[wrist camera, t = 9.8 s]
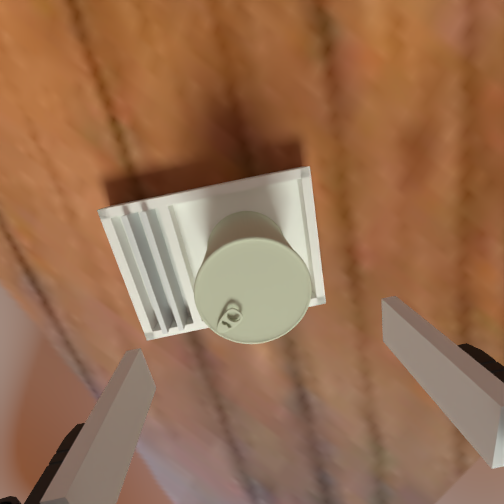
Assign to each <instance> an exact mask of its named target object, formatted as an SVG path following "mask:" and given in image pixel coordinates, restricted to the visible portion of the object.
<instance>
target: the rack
mask: <svg viewBox="0 0 504 504" xmlns="http://www.w3.org/2000/svg"><path fill="white" fill-rule="evenodd" d="M97 211H98V214H99V217H100V219H101V222H102V224H103V227H104V230H105V232H106V235H107V237H108V240H109V243H110V245H111V248H112V250H113V253H114V256H115V258H116V261H117V263H118V266H119V269H120V271H121V274H122V276H123V279H124V282H125V284H126V287H127V289H128V292H129V295H130V297H131V300H132V302H133V305H134V308H135V310H136V313H137V315H138V318H139V321H140V323H141V326H142V329H143V331H144V334H145V336H146V339H147V340H152V339H156V338H161V337H166V336H171V335H176V334H180V333H185V332H190V331H195V330H200V329H204V328H209V327H208V326H207V325H206V324H205V322H204V321H203V320H202V318H201V317H200V315H199V313H198V310H197V308H196V304H195V300H194V283H195V279H196V275H197V273H198V270H199V268H200V267H201V265H202V262H203V260H204V257H205V254H206V251H207V244H208V239H209V236H210V234H211V232H212V230H213V229H214V227H215V226H216V225H217V224H218V222H220V221H221V220H222V219H223V218H225V217H226V216H228V215H230V214H233V213H236V212H241V211H253V212H258V213H261V214H264V215H266V216H267V217H269V218H270V219H272V220H273V221H274V222H275V223H276V224H277V225H278V226H279V228H280V229H281V231H282V233H283V236H284V238H285V239H286V240H287V242H288V243H289V244H290V246H291V247H292V248H293V250H294V251H296V252H297V253H298V254H299V256H300V257H301V258H302V259H303V261H304V262H305V264H306V266H307V268H308V270H309V273H310V277H311V282H312V294H311V300H310V304H309V306H308V307H310V306H315V305H320V304H325V303H326V300H325V291H324V283H323V274H322V266H321V257H320V249H319V240H318V232H317V223H316V215H315V207H314V198H313V190H312V181H311V173H310V166H302V167H297V168H292V169H288V170H283V171H278V172H273V173H268V174H263V175H258V176H253V177H249V178H244V179H239V180H234V181H229V182H224V183H219V184H215V185H210V186H205V187H200V188H195V189H190V190H185V191H180V192H176V193H171V194H166V195H161V196H156V197H151V198H146V199H142V200H137V201H132V202H127V203H122V204H117V205H112V206H108V207H105V208H102V209H99V210H97Z"/></svg>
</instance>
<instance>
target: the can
mask: <svg viewBox="0 0 504 504" xmlns="http://www.w3.org/2000/svg"><path fill="white" fill-rule="evenodd" d="M311 294H312V282H311V277H310V273H309V270H308V268H307V266H306V264H305V262H304V261H303V259H302V258H301V257H300V256H299V254H298V253H297V252H296V251H294V250H293V248H292V247H291V246H290V244H289V243H288V242H287V240H286V239H285V238H284V236H283V233H282V231H281V229H280V228H279V226H278V225H277V224H276V223H275V222H274V221H273V220H272V219H270V218H269V217H267V216H266V215H264V214H261V213H258V212H253V211H241V212H236V213H233V214H230V215H228V216H226V217H225V218H223V219H222V220H221V221H220V222H218V224H217V225H216V226H215V227H214V229H213V230H212V232H211V234H210V236H209V239H208V244H207V251H206V254H205V257H204V260H203V262H202V265H201V267H200V268H199V270H198V273H197V275H196V279H195V283H194V300H195V304H196V308H197V310H198V313H199V315H200V317H201V318H202V320H203V321H204V322H205V324H206V325H207V326H208V327H209V328H210V329H211V330H212V331H214V332H215V333H216V334H218V335H219V336H221V337H223V338H225V339H228V340H230V341H233V342H237V343H243V344H258V343H264V342H269V341H272V340H274V339H277V338H279V337H281V336H283V335H285V334H286V333H288V332H289V331H290V330H292V329H293V328H294V327H295V326H296V325H297V324H298V323H299V322H300V320H301V319H302V318H303V316H304V315H305V313H306V311H307V309H308V306H309V304H310V300H311Z"/></svg>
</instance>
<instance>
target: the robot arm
mask: <svg viewBox="0 0 504 504" xmlns="http://www.w3.org/2000/svg"><path fill="white" fill-rule="evenodd" d="M382 325H383V342H384V343H385V344H386V345H387V346H388V347H389V349H390V350H391V351H392V352H393V353H394V355H395V356H396V357H397V358H398V359H399V360H400V362H401V363H402V364H403V365H404V366H405V367H406V369H407V370H408V371H409V372H410V373H411V374H412V376H413V377H414V378H415V379H416V380H417V382H418V383H419V384H420V385H421V386H422V387H423V389H424V390H425V391H426V392H427V393H428V394H429V396H430V397H431V398H432V399H433V400H434V402H435V403H436V404H437V405H438V406H439V407H440V409H441V410H442V411H443V412H444V413H445V414H446V416H447V417H448V418H449V419H450V420H451V421H452V423H453V424H454V425H455V426H456V427H457V429H458V430H459V431H460V432H461V433H462V434H463V436H464V437H465V438H466V439H467V440H468V441H469V443H470V444H471V445H472V446H473V447H474V449H475V450H476V451H477V452H478V453H479V454H480V456H481V457H482V458H483V459H484V460H485V461H486V463H487V464H488V465H489V466H490V467H491V468H492V469H493V468H498V467H503V466H504V366H502V365H501V364H500V363H498V362H496V361H495V360H494V359H493V358H492V357H490V356H489V355H488V354H486V353H485V352H484V351H482V350H480V349H478V348H476V347H473V346H471V345H469V344H467V343H466V344H461V345H456V344H455V343H453V342H452V341H451V340H450V339H448V338H447V337H446V336H445V335H443V334H442V333H441V332H440V331H439V330H437V329H436V328H435V327H434V326H432V325H431V324H430V323H429V322H427V321H426V320H425V319H424V318H422V317H421V316H420V315H419V314H417V313H416V312H415V311H414V310H412V309H411V308H410V307H409V306H408V305H406V304H405V303H404V302H403V301H401V300H400V299H399V298H398V297H396V296H393V297H388V298H383V299H382ZM155 390H156V386H155V383H154V381H153V378H152V376H151V373H150V371H149V368H148V366H147V363H146V361H145V358H144V356H143V353H142V351H141V348H139V349H134V350H129V351H126V353H125V354H124V356H123V358H122V360H121V361H120V363H119V365H118V367H117V368H116V370H115V372H114V374H113V375H112V377H111V379H110V381H109V382H108V384H107V386H106V388H105V389H104V391H103V393H102V394H101V396H100V398H99V400H98V401H97V403H96V405H95V407H94V409H93V410H92V412H91V414H90V416H89V417H88V419H87V421H86V423H82V424H77V425H76V426H75V427H74V428H73V429H72V431H71V432H70V433H69V434H68V435H67V436H66V437H65V438H64V440H63V441H62V443H61V445H60V446H59V448H58V450H57V451H56V454H55V455H54V456H53V458H52V459H51V461H50V463H49V466H47V467H46V469H45V471H44V473H43V474H42V476H41V477H40V479H39V481H38V482H37V484H36V485H35V487H34V489H33V490H32V492H31V493H30V495H29V496H28V498H27V500H26V501H25V503H24V504H116V503H117V500H118V497H119V494H120V491H121V488H122V485H123V483H124V480H125V477H126V474H127V471H128V468H129V465H130V462H131V459H132V457H133V454H134V451H135V448H136V445H137V442H138V439H139V436H140V433H141V431H142V428H143V425H144V422H145V419H146V416H147V413H148V410H149V407H150V404H151V402H152V399H153V396H154V393H155ZM0 504H21V503H20V501H19V500H18V499H17V498H16V497H12V496H9V497H6V498H2V499H0Z"/></svg>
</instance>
